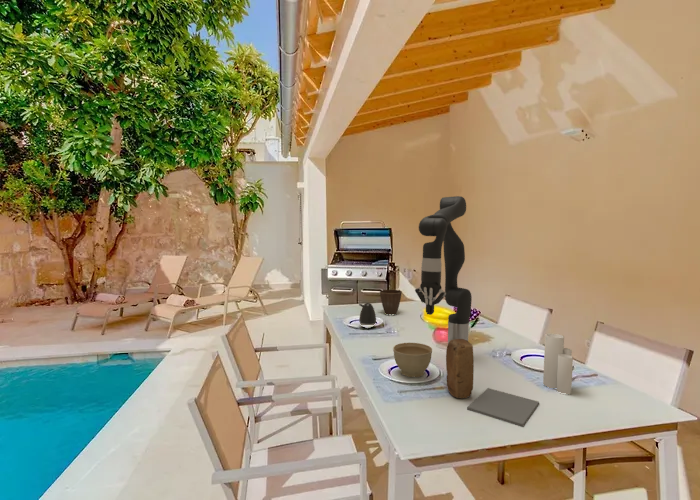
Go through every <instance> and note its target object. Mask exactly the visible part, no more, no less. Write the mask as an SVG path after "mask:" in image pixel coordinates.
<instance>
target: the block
mask: <svg viewBox="0 0 700 500" xmlns="http://www.w3.org/2000/svg"><path fill="white" fill-rule="evenodd" d="M445 352H446V354H445V363H446V365H445V367H446V387H447V390H448V392H449V394H450V395H451V396H453V397H454V398H457V399H467V398H469V397H471V396H472V391H473V389H474V371H475V369H474V345H473V344H472V343H471V342H470V341H469V340H468V341H467V340H465V339H454V340H451V341H450V342H449V343H448V342H447V345H446V351H445Z"/></svg>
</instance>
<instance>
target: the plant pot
mask: <svg viewBox="0 0 700 500" xmlns="http://www.w3.org/2000/svg"><path fill="white" fill-rule="evenodd" d="M402 292H403V291H402V290H399V289H398V290H397V289H382V290H379V294H380V295H379V296H380V301H381V305H382V306H381V307H382V308H383V311H384V314H385V313H386V314H396V315H397V314H398V311H399V307H400V303H401V299H402V295H403V294H402ZM386 314H385V315H386Z"/></svg>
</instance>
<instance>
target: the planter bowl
mask: <svg viewBox="0 0 700 500" xmlns="http://www.w3.org/2000/svg"><path fill="white" fill-rule="evenodd" d="M392 350H393V357H394V361H395V363H396V366H397V367H398V368H399V370H400V373H401V375H403V376H405V377H408V378H420V377H422V376H424V374H425V371H426V370H427V369H428V368H429V366H430V364H431V360H432V353H433V348H432V347H431V346H430V345H427V344H425V343H421V342H420V343H419V342H402V343H397V344H395V345H394V346H393V348H392Z"/></svg>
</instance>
